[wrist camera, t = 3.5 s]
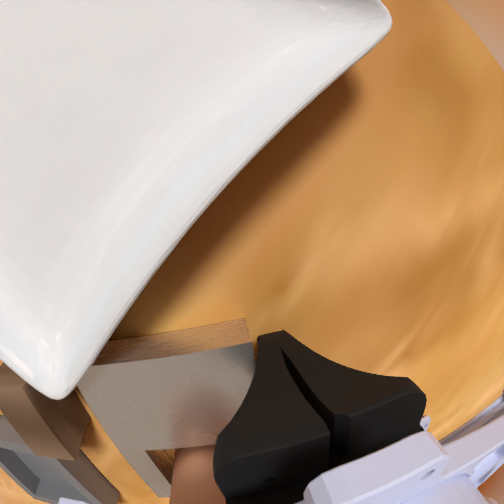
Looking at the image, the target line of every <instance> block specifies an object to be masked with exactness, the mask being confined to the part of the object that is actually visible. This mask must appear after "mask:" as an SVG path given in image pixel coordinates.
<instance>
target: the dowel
mask: <svg viewBox="0 0 504 504" xmlns="http://www.w3.org/2000/svg"><path fill="white" fill-rule="evenodd" d="M214 449H215V444H212V445H205V446H196V447H187V448H176V449H175V458H174V466H173V475H172V484H171V494H170V504H226V501H225V497H224V496H223V494H222V492H221V491H220V489H219V487H218V486H217V484H216V482H215V479H214V473H213V455H214Z"/></svg>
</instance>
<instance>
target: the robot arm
mask: <svg viewBox="0 0 504 504" xmlns="http://www.w3.org/2000/svg"><path fill="white" fill-rule="evenodd" d="M257 342H258V356H257V363H256V367H255V371H254V375H253V379H252V382H251V384H250V387H249V389H248V392H247V394H246V396H245V398H244V400H243V402H242V404H241V406H240V407H239V409H238V410H237V412H236V413H235V415H234V416H233V418H232V419H231V421H230V422H229V423H228V424H227V425H226V427H225V428H224V429H223V430H222V431H221V432H220V434H219V435H218V437H217V440H216V444H215V449H214V455H213V473H214V479H215V482H216V484H217V486H218V487H219V489H220V491H221V492H222V494H223V496H224V497H225V501H226V504H498V503H497V502H496V501H494V500H493V499H492V498H490V497H483V496H482V495H481V493H480V492H479V491H478V489H477V487H478V486H479V485H480V484H482V483H483V482H484V481H485V480H486V479H487V478H488V477H490V476H491V475H492V474H493V473H494V472H495V471H496V470H497V469H498V468H499V467H500V466H501V465H502V464H503V463H504V390H503V394H502V395H501V396H500V397H499V398H498V399H496V400H495V401H494V402H493V403H492V404H490V405H489V406H488V407H487V408H485V409H484V410H483V411H481V412H480V413H479V414H477V415H476V416H475V417H473V418H472V419H471V420H469V421H468V422H466V423H465V424H464V425H462V426H461V427H459V428H458V429H456V430H455V431H453V432H452V433H450V434H449V435H447V436H445V437H444V438H442V439H441V440H439V441H437V439H436V438H435V437H434V436H433V435H432V433H430V432H426V431H427V429H428V426H429V424H430V421H431V418H430V417H429V416H425V417H423V418H422V416H423V413H424V410H425V406H426V401H427V399H426V395H425V394H424V393H423V392H422V391H421V389H420V388H419V387H418V386H417V385H416V384H415V383H414V382H413V381H412V380H410V379H409V378H408V377H393V376H383V375H377V374H371V373H366V372H362V371H359V370H355V369H352V368H349V367H346V366H343V365H340V364H338V363H336V362H333V361H331V360H329V359H327V358H325V357H323V356H321V355H319V354H318V353H316V352H314V351H313V350H311V349H310V348H308V347H306V346H305V345H303V344H302V343H301V342H299V341H298V340H297V339H295V338H294V337H293V336H291V335H290V334H289V333H288V332H286V331H285V330H282V331H277V332H273V333H269V334H264V335H260V336H258V338H257ZM58 504H89V503H87V502H84V501H79V500H74V499H69V498H64V497H60V499H59V502H58Z"/></svg>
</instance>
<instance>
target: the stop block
mask: <svg viewBox="0 0 504 504" xmlns="http://www.w3.org/2000/svg"><path fill="white" fill-rule="evenodd" d="M0 410H1V411H2V413H3V414H4V415H5V417H6V418H7V420H8V421H9V422H10V424H11V425H12V426H13V428H14V429H15V430H16V432H17V433H18V434H19V435H20V437H21V438H22V439H23V440H24V442H25V443H26V444H27V445H28V447H29V448H30V449H31V450H32V451H33V452H34V454H35V455H39V456H44V457H50V458H57V459H64V460H72V461H76V459H77V456H78V452H79V449H80V446H81V443H82V440H83V438H84V435H85V432H86V429H87V426H88V423H89V421H90V418H91V417H90V416H89V414H88V413H87V411H86V410H85V408H84V406H83V405H82V403H81V402H80V400H79V398H78V397H77V395H76V393H75V391H74V390H73V391H72V392H71V393H70V394H69V395H68V396H66V397H65V398H63V399H61V400H55V399H51V398H49V397H47V396H45V395H44V394H42V393H41V392H39V391H38V390H36V389H35V388H34V387H32V386H31V385H30V384H28V383H27V382H26V381H25V380H23V379H22V378H21V377H20V376H19V375H18V374H16V373H15V372H14V371H13V370H12V369H11V368H9V367H8V366H7V365H6V364H5V363H4V362H3V364H2V365H1V366H0Z"/></svg>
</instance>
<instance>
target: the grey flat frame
mask: <svg viewBox="0 0 504 504" xmlns="http://www.w3.org/2000/svg"><path fill="white" fill-rule="evenodd" d="M255 367H256V362H255V357H254V352H253V346H252V342H251V338H250V335H249V331H248V328H247V325H246V321H245V318H242V319H237V320H232V321H227V322H222V323H217V324H212V325H207V326H201V327H196V328H190V329H185V330H179V331H173V332H167V333H161V334H154V335H148V336H141V337H134V338H127V339H120V340H113V341H107V343H106V344H105V346H104V347H103V348H102V350H101V351H100V353H99V355H98V356H97V358H96V360H95V361H94V363H93V364H92V366H91V367H90V368H89V370H88V371H87V373H86V374H85V375H84V377H83V378H82V379H81V380H80V382H79V383H78V385H77V387H78V388H79V390H80V392H81V394H82V395H83V397H84V399H85V400H86V402H87V404H88V405H89V407H90V409H91V410H92V412H93V413H94V415H95V416H96V418H97V420H98V421H99V423H100V424H101V426H102V427H103V428H104V430H105V431H106V433H107V434H108V436H109V437H110V439H111V440H112V441H113V443H114V444H115V445H116V447H117V448H118V449H119V451H120V452H121V453H122V455H123V456H124V457H125V459H126V460H127V461H128V462H129V464H130V465H131V466H132V467H133V469H134V470H135V471H136V472H137V473H138V475H139V476H140V477H141V478H142V479H143V480H144V481H145V483H146V484H147V485H148V486H149V487H150V488H151V489H152V490H153V491H154V493H155V494H156V495H157V496H158V497H170V494H171V484H172V475H173V466H174V464H173V463H172V461H171V460H170V458H169V457H168V455H167V454H166V452H165V451H164V449H176V448H187V447H196V446H205V445H212V444H216V440H217V437H218V435H219V434H220V432H221V431H222V430H223V429H224V428H225V427H226V425H227V424H228V423H229V422H230V421H231V419H232V418H233V416H234V415H235V413H236V412H237V410H238V409H239V407H240V406H241V404H242V402H243V400H244V398H245V396H246V394H247V392H248V389H249V387H250V384H251V382H252V379H253V375H254V371H255Z"/></svg>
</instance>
